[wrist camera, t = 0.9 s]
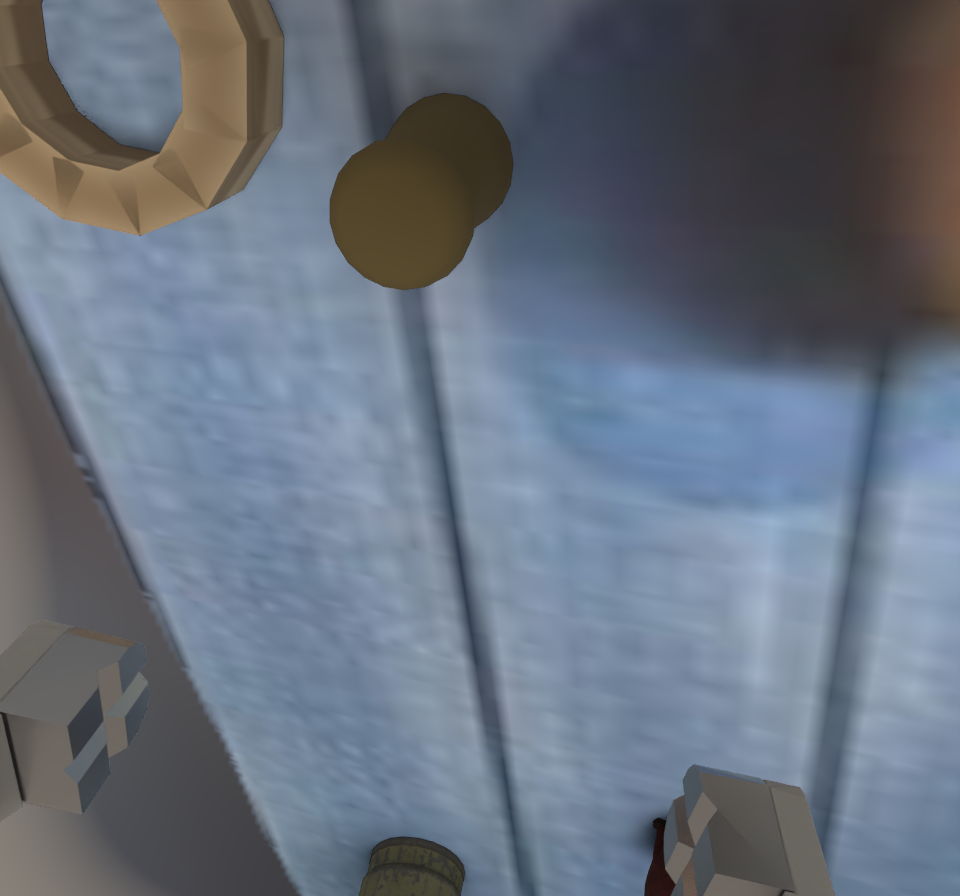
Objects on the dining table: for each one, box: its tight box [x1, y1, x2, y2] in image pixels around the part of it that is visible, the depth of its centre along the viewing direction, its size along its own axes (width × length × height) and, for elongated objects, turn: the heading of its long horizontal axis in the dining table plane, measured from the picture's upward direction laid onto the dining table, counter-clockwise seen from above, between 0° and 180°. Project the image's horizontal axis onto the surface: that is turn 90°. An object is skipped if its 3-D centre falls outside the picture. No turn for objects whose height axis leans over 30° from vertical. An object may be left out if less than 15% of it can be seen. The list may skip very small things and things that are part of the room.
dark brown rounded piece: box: [330, 93, 513, 290], centre depth 29 cm, size 6×6×11 cm
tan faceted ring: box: [0, 0, 284, 236], centre depth 32 cm, size 14×14×4 cm
